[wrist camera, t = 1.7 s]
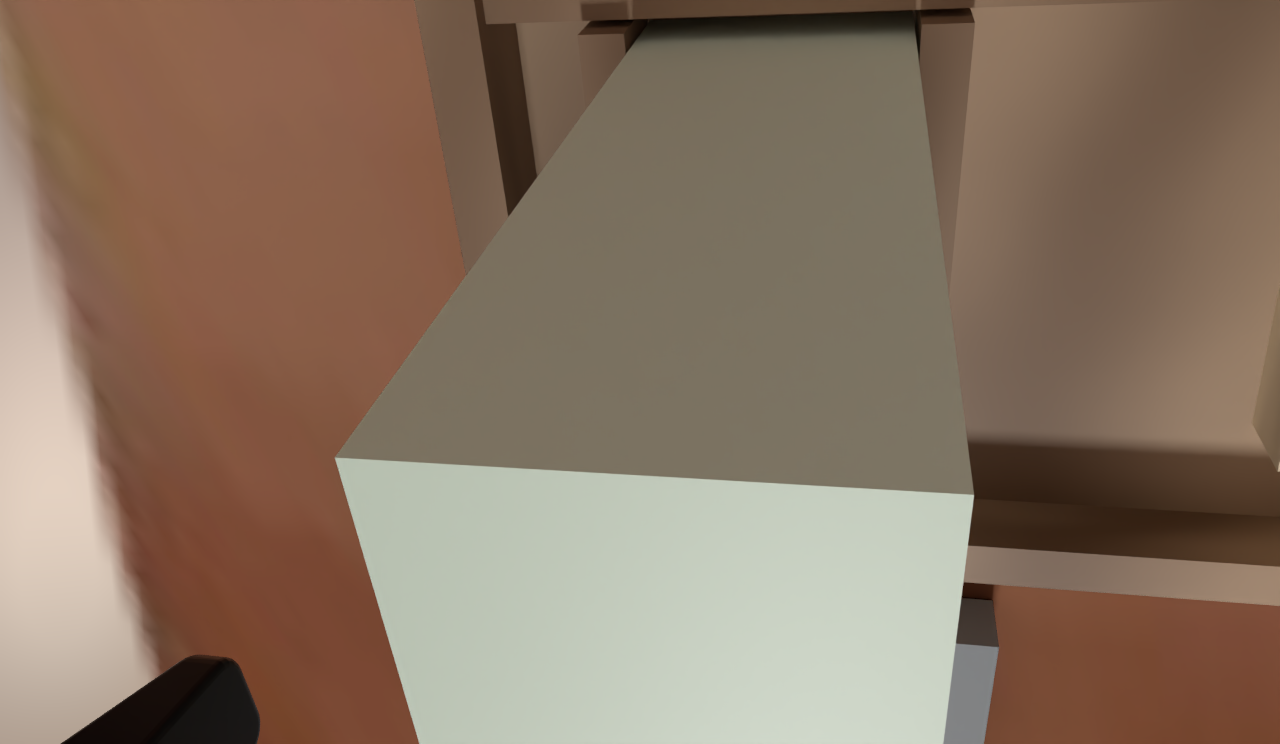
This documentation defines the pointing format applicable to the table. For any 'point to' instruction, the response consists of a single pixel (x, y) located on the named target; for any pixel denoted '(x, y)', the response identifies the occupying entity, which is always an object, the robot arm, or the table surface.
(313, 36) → the table surface
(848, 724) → the pale green block
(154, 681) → the robot arm
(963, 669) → the mat
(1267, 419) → the offcut
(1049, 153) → the rack
